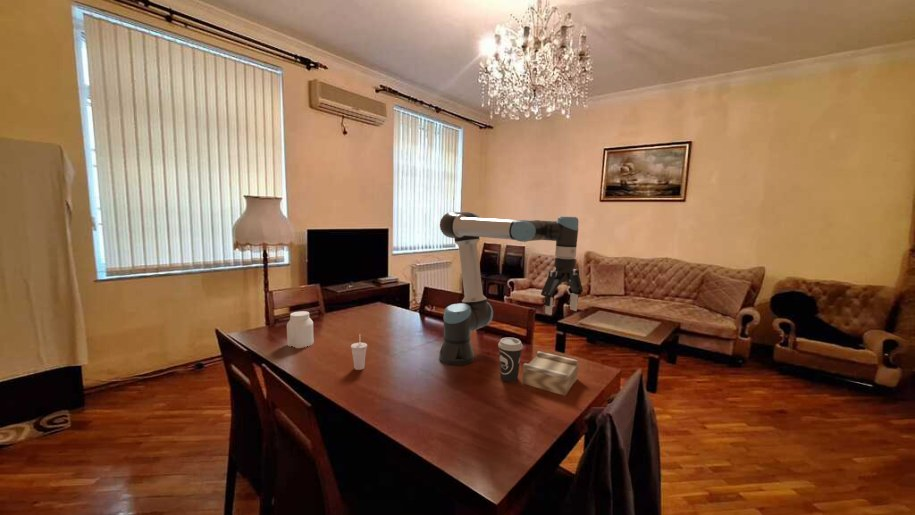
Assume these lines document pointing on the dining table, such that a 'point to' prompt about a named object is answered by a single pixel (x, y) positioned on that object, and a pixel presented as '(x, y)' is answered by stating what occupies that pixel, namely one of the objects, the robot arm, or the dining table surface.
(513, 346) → the coffee cup
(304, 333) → the jar
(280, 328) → the dining table surface
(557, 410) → the dining table surface
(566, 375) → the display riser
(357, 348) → the smoothie
